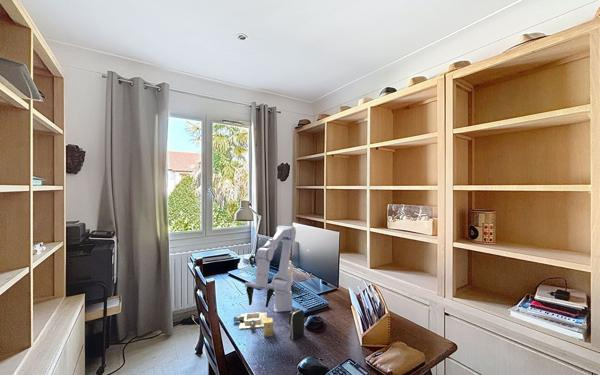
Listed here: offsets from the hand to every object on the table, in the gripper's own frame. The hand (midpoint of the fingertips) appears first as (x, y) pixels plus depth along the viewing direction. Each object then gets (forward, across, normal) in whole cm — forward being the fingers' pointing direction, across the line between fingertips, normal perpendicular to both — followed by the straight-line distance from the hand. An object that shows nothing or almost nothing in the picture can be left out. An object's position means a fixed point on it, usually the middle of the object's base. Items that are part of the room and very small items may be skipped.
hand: (258, 305), depth 118 cm
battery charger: (+11, +18, +1) cm, 21 cm away
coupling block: (+11, +6, +2) cm, 13 cm away
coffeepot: (-4, -16, +69) cm, 71 cm away
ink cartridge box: (-2, +6, +53) cm, 53 cm away
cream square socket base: (+10, -5, +10) cm, 15 cm away
